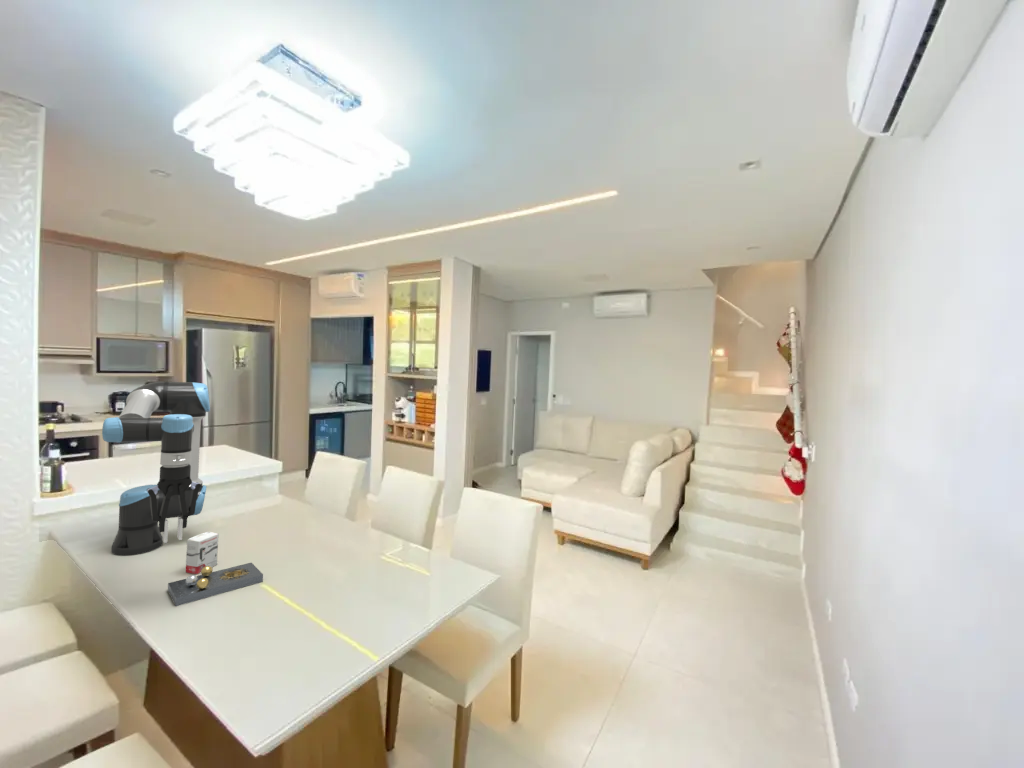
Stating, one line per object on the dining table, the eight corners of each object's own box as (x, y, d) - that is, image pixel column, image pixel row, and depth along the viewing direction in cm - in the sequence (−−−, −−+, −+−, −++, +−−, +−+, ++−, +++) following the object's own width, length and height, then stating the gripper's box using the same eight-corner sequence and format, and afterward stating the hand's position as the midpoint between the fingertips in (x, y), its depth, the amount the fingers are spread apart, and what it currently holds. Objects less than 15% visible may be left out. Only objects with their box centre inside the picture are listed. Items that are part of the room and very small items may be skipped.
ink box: (196, 575, 151) (198, 541, 151) (184, 572, 152) (186, 539, 152) (217, 564, 159) (219, 532, 159) (206, 562, 160) (208, 530, 160)
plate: (175, 606, 132) (176, 598, 132) (167, 590, 140) (168, 583, 140) (262, 581, 149) (263, 574, 149) (251, 569, 157) (251, 562, 157)
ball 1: (199, 575, 146) (200, 566, 146) (210, 572, 148) (211, 563, 148) (202, 578, 144) (202, 569, 144) (213, 576, 146) (213, 566, 146)
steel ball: (184, 585, 139) (184, 575, 139) (196, 581, 142) (196, 572, 141) (186, 588, 137) (187, 578, 137) (198, 585, 139) (199, 575, 139)
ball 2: (195, 588, 138) (195, 578, 138) (207, 584, 140) (207, 575, 140) (197, 592, 136) (198, 581, 136) (209, 588, 138) (210, 578, 138)
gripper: (144, 470, 126) (140, 550, 126) (209, 464, 138) (206, 537, 138) (139, 465, 131) (136, 542, 131) (203, 459, 143) (200, 530, 143)
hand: (172, 539), depth 135 cm, fingers open, 3 cm apart
